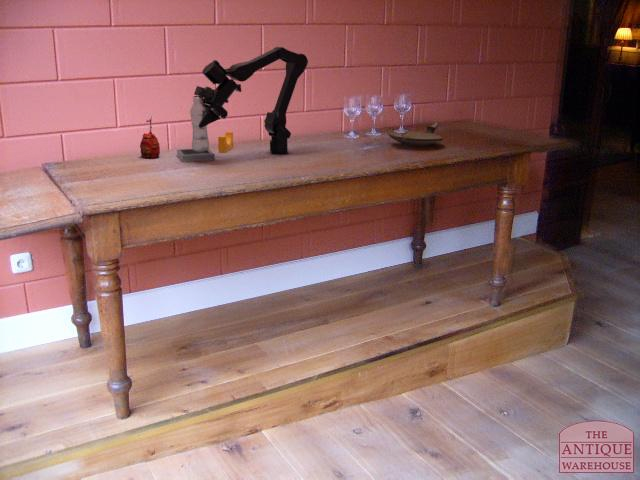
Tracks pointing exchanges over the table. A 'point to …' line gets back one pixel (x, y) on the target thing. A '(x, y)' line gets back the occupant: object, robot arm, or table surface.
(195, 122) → the plastic bottle
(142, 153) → the red clay folk toy
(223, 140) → the orange stepped block
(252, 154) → the table surface
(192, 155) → the tray
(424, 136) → the oil lamp
